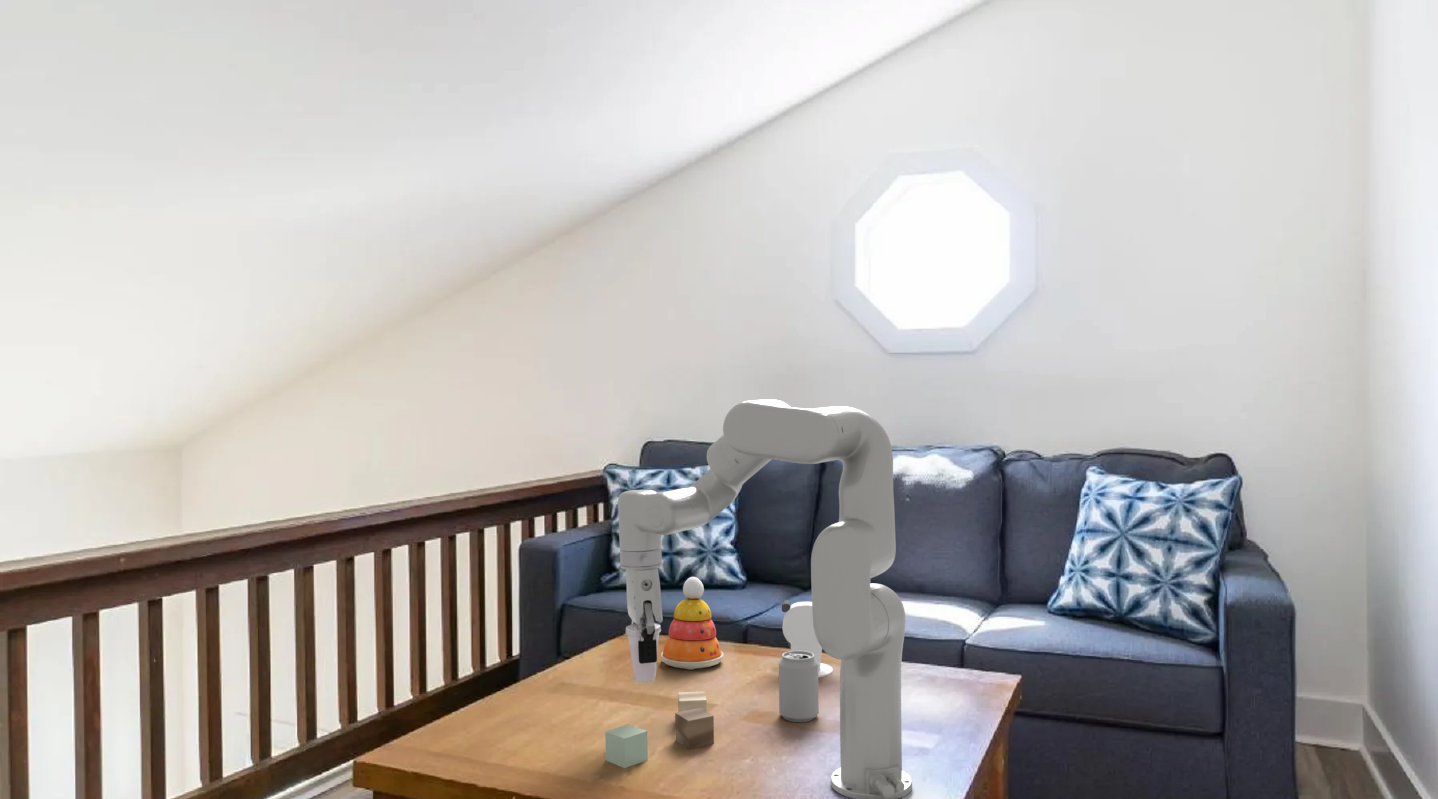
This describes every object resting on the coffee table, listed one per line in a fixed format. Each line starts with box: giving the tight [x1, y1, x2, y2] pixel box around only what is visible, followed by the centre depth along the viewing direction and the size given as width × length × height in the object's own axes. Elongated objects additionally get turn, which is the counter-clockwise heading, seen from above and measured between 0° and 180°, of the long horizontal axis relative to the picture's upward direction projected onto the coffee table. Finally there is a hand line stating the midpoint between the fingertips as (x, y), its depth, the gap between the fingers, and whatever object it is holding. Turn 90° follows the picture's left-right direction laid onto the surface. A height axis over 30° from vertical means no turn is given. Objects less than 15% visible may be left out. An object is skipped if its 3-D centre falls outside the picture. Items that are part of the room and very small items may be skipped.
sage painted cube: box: [604, 723, 649, 769], centre depth 171 cm, size 5×5×5 cm
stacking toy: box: [660, 576, 725, 671], centre depth 228 cm, size 14×14×20 cm
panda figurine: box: [781, 599, 834, 678], centre depth 221 cm, size 12×11×15 cm
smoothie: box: [625, 620, 662, 684], centre depth 183 cm, size 6×6×14 cm
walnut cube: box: [674, 708, 715, 750], centre depth 179 cm, size 5×5×5 cm
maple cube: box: [677, 691, 708, 712], centre depth 189 cm, size 5×5×5 cm
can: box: [778, 650, 820, 723], centre depth 191 cm, size 8×8×12 cm
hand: (644, 656), depth 183 cm, fingers closed on smoothie, 6 cm apart
